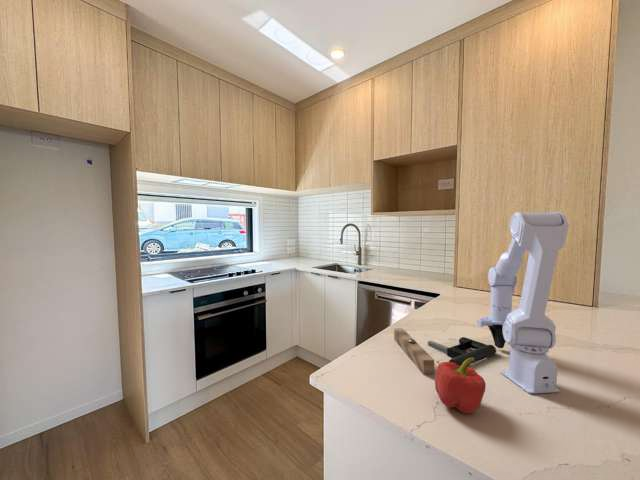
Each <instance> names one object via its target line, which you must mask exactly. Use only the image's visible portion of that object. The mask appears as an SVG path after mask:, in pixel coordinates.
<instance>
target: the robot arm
mask: <svg viewBox="0 0 640 480" xmlns="http://www.w3.org/2000/svg"><path fill="white" fill-rule="evenodd" d="M568 222H569V221H568V220H567V218H566V216H565V215H564V214H563V213H562V212H561V211H553V212H520V211H517V212H515V213H514V214H513V215H512V216H511V218H510V220H509V230H510V235H511V241H510V243H509V246H508V249H507V251H506V252H503V253H501V255H500V257H499V259H498V261H497V263H496V265H495V266H492V267H490V268H489V270H488V272H487V273H488V275H487V280H488V284H489V285H490V298H489V299H490V300H489V302H490V306H489V314H488V316H486V317H481V318H476V325H477V326H478V327H480V328H481V327H482V328H483V327H486V326H487V327H488V329H489V331H490V333H491V336H492V339H493V342H494V343H493V344H494V347H495V348H498V349H504V347H505V344H508V345H509V359H508V361H509V363H508V364H509V365H508V369H506V370H505V369H504V370H500V373H501V374H502V375H503V376H505V377H507V378H508V379H509V380H510V381H512V382H513V383H514V384H515V385H517V386H518V387H519V388H521V389H523V390H524V391H525V392H526V393H528V394H530V395H533V394H548V393H559V392H560V389H558V388H557V383H558V382H557V379H558V378H557V377H558V365H557V363H556V362H555V361H554V360H553V359H552V358H551V357H549V356H548V353H549V350H551V349H553V348H555V346H556V343H557V337H556V336H557V335H556V330H557V329H556V328H557V326H556V324H555V322H554V321H553V320H552V319H551V318H550V317H549V316H547V315H545V313H546V310H547V309H546V308H547V305H548V300H549V295H550V291H551V287H552V282H553V277H554V274H555V270H556V269H555V268H556V263H557V259H558V254H559V250H561V249H563V248H564V247H565V243H566V241H567V240H566V239H567V234H568V231H569V226H570V225H569V223H568ZM527 251H528V259H527V263H526V264H527V265H526V270H525V275H524V280H523V284H522V286H523V287H522V290H521V297H520V301H519V306H518V309H515V310H513V311H512V309H513V307H512V306H513V294H514V293H515V288H516V286H517V283H518V277H517V274H518V273H519V271H520V270H521V268H522V266H523V265H524V258H523V256H524V254H525V253H526V252H527Z"/></svg>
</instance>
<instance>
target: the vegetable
mask: <svg viewBox="0 0 640 480" xmlns="http://www.w3.org/2000/svg"><path fill="white" fill-rule="evenodd" d="M471 362H472V363H475V361H474V358H468V359H466V360H465V361H464V362H463V364H462V365H461V366H458V365H457V364H455V363H454V362H449V361H443V362H440V363H439V364H438V365H437V367H436V371H435V377H434V387H435V391H436V393H437V395H438V397H439V399H440V402H441V403H442V404H444V405H445V406H446V407H448V408H456V409H457V410H458V411H460V412H461V413H463V414H471V413H474V412H476V410H478V409H479V408H480V406H481V404H482V401H483V398H484V394H485V391H486V384H487V383H486V382H485V379H484V378H483V376H481V375H480V374H479V373H478V372H477V371H476V370H475V369H473V368H471V367H469V364H470V363H471Z"/></svg>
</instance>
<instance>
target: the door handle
mask: <svg viewBox="0 0 640 480" xmlns="http://www.w3.org/2000/svg"><path fill="white" fill-rule="evenodd" d="M458 343H459V344H457V345H453V346H450V347H448V346H446V345H443V344H441V343H438V342H436V341H433V340H429V341H427V346H429V347H431V348H433V349H434V350H437V351H438V352H440V353H443V354H445V355H447V357H448V358H451V359H449V361H448V362H454V363H455V364H457V365H458V366H461V365H462V364H463V362H464V361H465V360H466V359H468V358H474V361H475V363H472V362H471V363H470V364H469V365H468V367H472V366H474V365H476V364H478V363H481V362H483V361H485V360H486V361H487V359H488V357H491V356H496V353H497V347H496V346H495V345H492V344H486V343H483V342H480V341H476V340H474V339H471V338H467V337H465V336H464V337H463V336H462V337H460V338H459V339H458ZM466 350H469V351H466Z"/></svg>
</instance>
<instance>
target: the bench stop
mask: <svg viewBox="0 0 640 480" xmlns="http://www.w3.org/2000/svg"><path fill="white" fill-rule="evenodd" d="M393 329H394V330H393V340H394V342H396V343H397V345H398V346H399V347H400V348H401V350H402V351H403V352H404V353H405V354H406V356H407V357H408V358H409V359H410V360H411V362H412V363H413V364H414V366H416V368H417V369H418V370H419V372H420V373H422V375H434V374H435V359H434V358H433V357H432V356H431V355H430V354H429V352H427V351H426V350H425V349H424V348H423V347H422V346H421V345H420V344H419V343H418V342H417V341H416V340H415V339H414V338H413V337H412V336H411V335H410V334H409V333H408V331H406V330H405V329H404V328H403V327H397V328H396V327H395V328H393Z"/></svg>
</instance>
